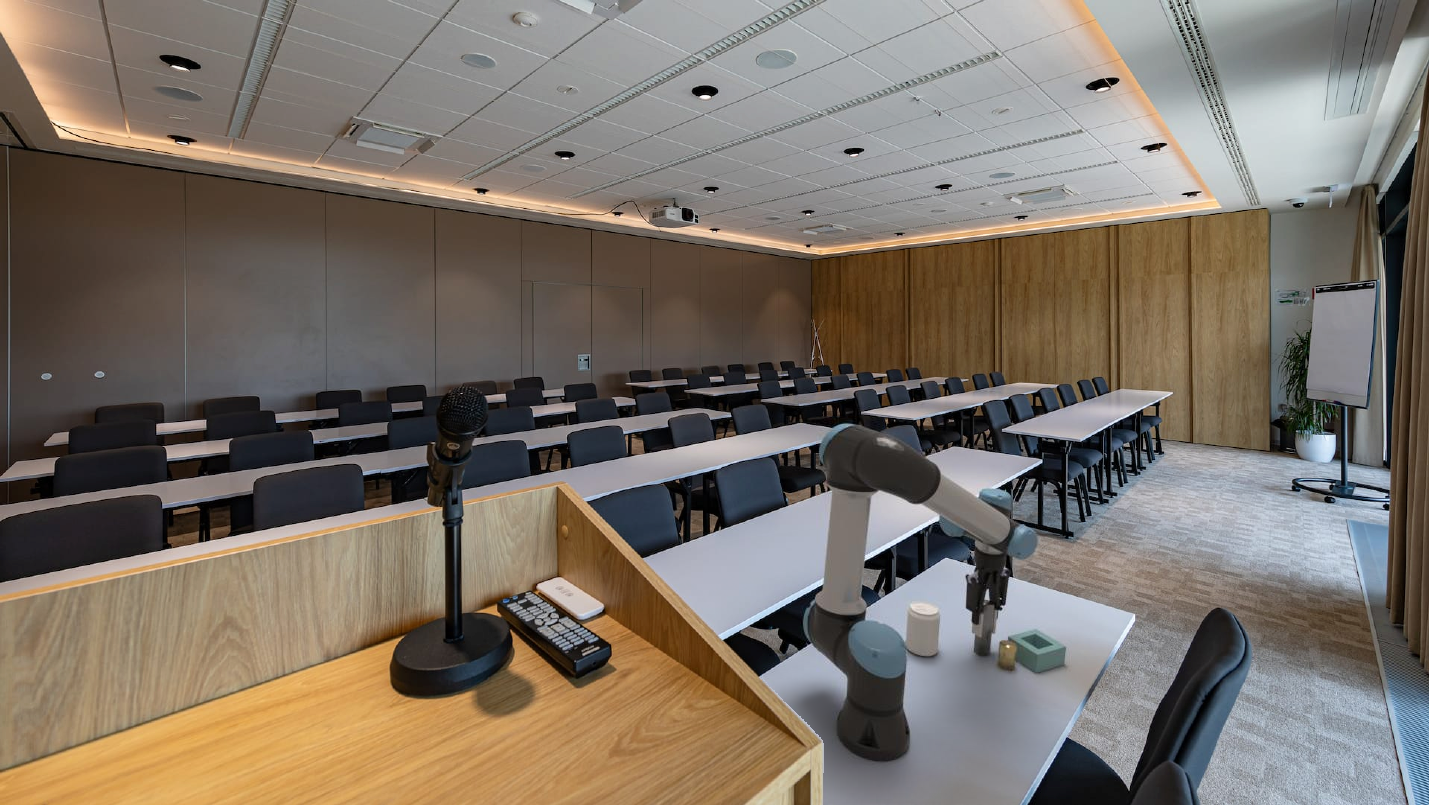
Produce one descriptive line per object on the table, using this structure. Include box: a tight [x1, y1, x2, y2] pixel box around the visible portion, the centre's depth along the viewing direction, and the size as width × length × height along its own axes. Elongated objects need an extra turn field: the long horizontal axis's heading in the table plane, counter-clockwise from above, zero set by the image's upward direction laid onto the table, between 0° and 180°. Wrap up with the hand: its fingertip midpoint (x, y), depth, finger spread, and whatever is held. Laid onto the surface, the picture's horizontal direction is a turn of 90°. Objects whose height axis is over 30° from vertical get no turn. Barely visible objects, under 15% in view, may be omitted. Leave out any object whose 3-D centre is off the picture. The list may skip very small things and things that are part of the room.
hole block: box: [1007, 628, 1067, 674], centre depth 157 cm, size 10×9×5 cm
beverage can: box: [905, 600, 941, 657], centre depth 161 cm, size 8×8×12 cm
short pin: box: [997, 639, 1017, 672], centre depth 154 cm, size 4×4×6 cm
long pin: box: [973, 599, 994, 657], centre depth 160 cm, size 4×4×14 cm
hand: (983, 632), depth 160 cm, fingers closed on long pin, 4 cm apart
